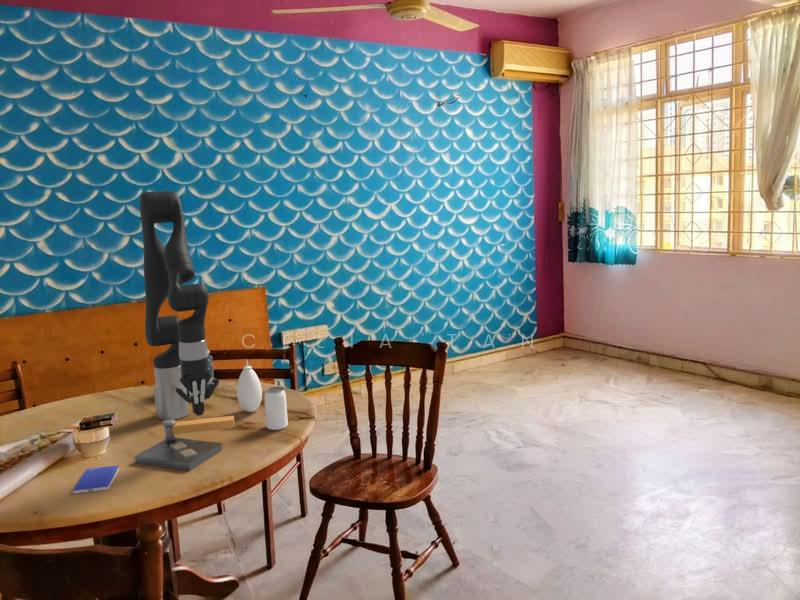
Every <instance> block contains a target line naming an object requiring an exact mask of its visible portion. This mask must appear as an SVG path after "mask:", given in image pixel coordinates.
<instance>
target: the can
mask: <svg viewBox="0 0 800 600" xmlns="http://www.w3.org/2000/svg"><path fill="white" fill-rule="evenodd" d="M264 391H265V392H264V409H265V423H266V428H267V429H268V430H270V431H281V430H284V429H286V428H287V426H288V425H289V423H288V422H289V421H288V405H287V394H286V391H285V388H284V387H282V386H271V387H267V388H266V389H265V390H264Z"/></svg>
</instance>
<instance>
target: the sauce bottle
mask: <svg viewBox="0 0 800 600" xmlns="http://www.w3.org/2000/svg"><path fill="white" fill-rule="evenodd" d="M245 363H246V365H245V366H243V368H242V371H241V373H240V375H239V377H238V381H237V387H236V394H237V395H236V397H237V402H238V403H239V404H238V405H239V406H240V407H241V409H242V410H245V412H248V413H254V412H255V411H257V409H258V408H259V407H260V405H261V403H262V399H263V389H262V383H261V381H260V379H259V377H258V375H257V373H256V371H255V370H254V369H252V366H251V365H249V362H248V359H246V362H245Z"/></svg>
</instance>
